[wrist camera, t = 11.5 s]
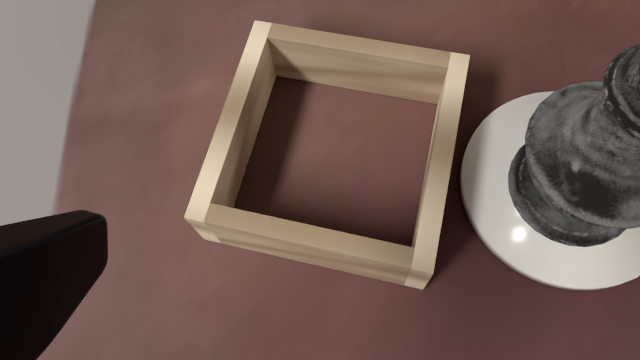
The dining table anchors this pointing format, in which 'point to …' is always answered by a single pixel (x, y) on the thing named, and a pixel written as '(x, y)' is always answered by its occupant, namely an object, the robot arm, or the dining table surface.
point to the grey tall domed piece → (583, 159)
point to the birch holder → (347, 72)
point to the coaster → (513, 232)
